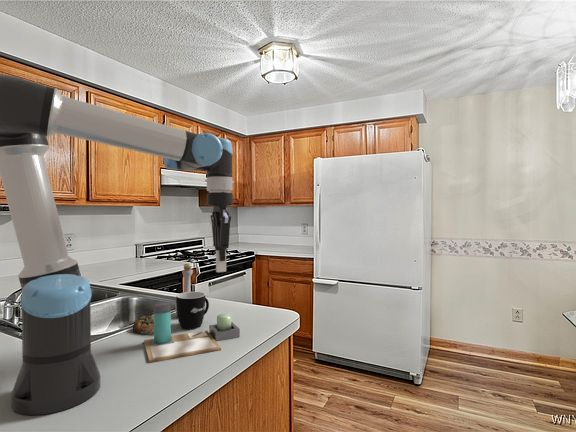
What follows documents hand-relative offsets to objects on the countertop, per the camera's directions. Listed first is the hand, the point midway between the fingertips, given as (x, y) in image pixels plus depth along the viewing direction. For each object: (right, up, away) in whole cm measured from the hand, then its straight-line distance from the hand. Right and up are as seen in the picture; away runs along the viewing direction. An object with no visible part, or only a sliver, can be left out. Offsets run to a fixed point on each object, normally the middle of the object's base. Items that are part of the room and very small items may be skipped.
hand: (221, 271), depth 106 cm
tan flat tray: (-9, -19, -8) cm, 23 cm away
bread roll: (-23, -19, +6) cm, 31 cm away
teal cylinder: (-15, -18, -6) cm, 25 cm away
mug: (-10, -19, +10) cm, 24 cm away
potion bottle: (-16, -19, +20) cm, 32 cm away
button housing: (+1, -19, +1) cm, 19 cm away
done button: (+1, -17, +1) cm, 18 cm away
